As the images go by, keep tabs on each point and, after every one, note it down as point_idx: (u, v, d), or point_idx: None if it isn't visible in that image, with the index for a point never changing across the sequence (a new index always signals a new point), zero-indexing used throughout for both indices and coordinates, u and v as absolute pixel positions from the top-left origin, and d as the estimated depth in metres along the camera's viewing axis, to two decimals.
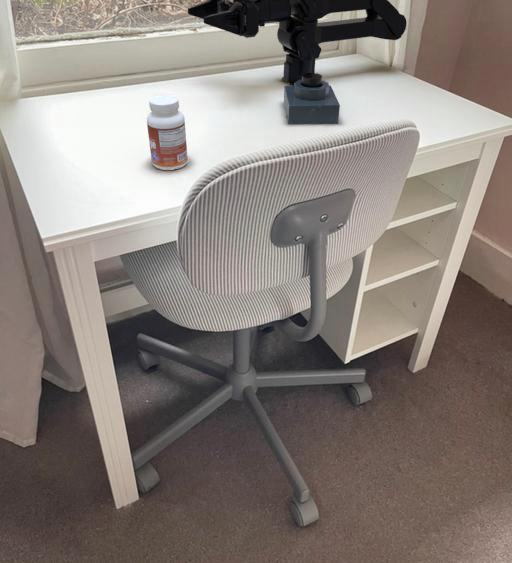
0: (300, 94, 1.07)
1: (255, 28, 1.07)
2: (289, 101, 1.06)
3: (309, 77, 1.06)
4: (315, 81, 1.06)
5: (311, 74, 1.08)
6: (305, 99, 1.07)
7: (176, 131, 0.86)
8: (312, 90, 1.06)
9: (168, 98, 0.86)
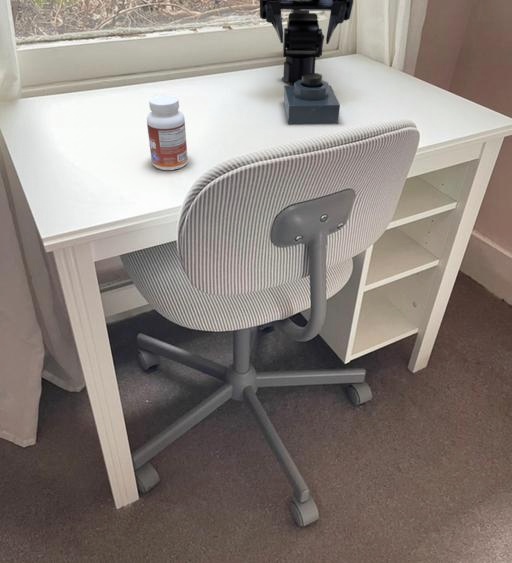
0: (300, 94, 1.07)
1: None
2: (289, 101, 1.06)
3: (309, 77, 1.06)
4: (315, 81, 1.06)
5: (311, 74, 1.08)
6: (305, 99, 1.07)
7: (176, 131, 0.86)
8: (312, 90, 1.06)
9: (168, 98, 0.86)
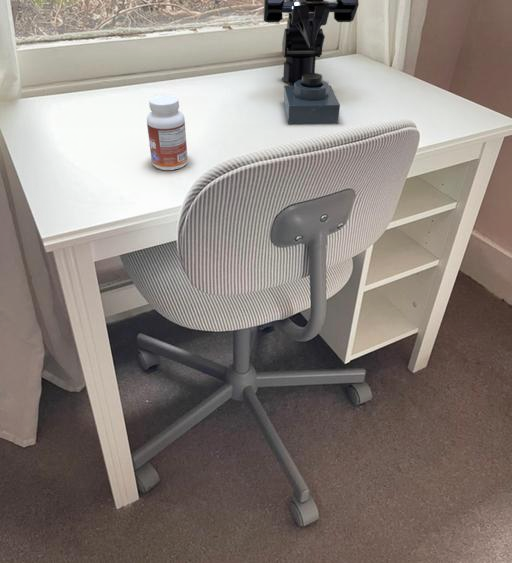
0: (300, 94, 1.07)
1: None
2: (289, 101, 1.06)
3: (309, 77, 1.06)
4: (315, 81, 1.06)
5: (311, 74, 1.08)
6: (305, 99, 1.07)
7: (176, 131, 0.86)
8: (312, 90, 1.06)
9: (168, 98, 0.86)
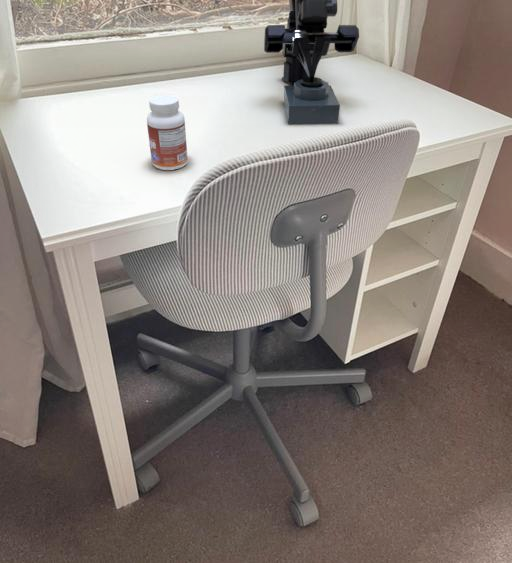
0: (300, 94, 1.07)
1: None
2: (289, 101, 1.06)
3: (309, 81, 1.07)
4: (315, 85, 1.06)
5: None
6: (305, 99, 1.07)
7: (176, 131, 0.86)
8: (312, 90, 1.06)
9: (168, 98, 0.86)
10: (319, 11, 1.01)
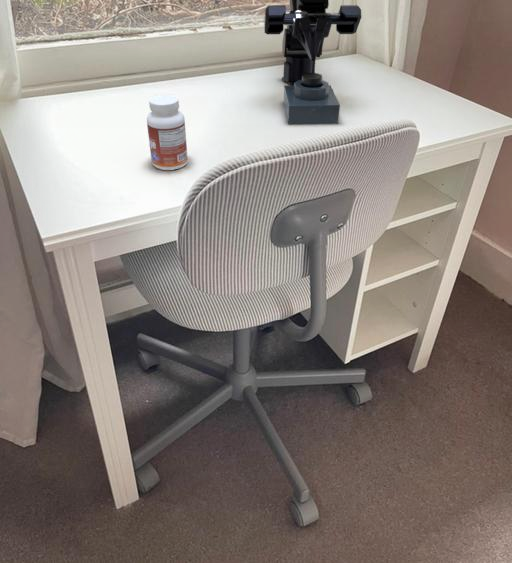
0: (300, 94, 1.07)
1: None
2: (289, 101, 1.06)
3: (309, 77, 1.06)
4: (315, 81, 1.06)
5: (311, 74, 1.08)
6: (305, 99, 1.07)
7: (176, 131, 0.86)
8: (312, 90, 1.06)
9: (168, 98, 0.86)
10: None
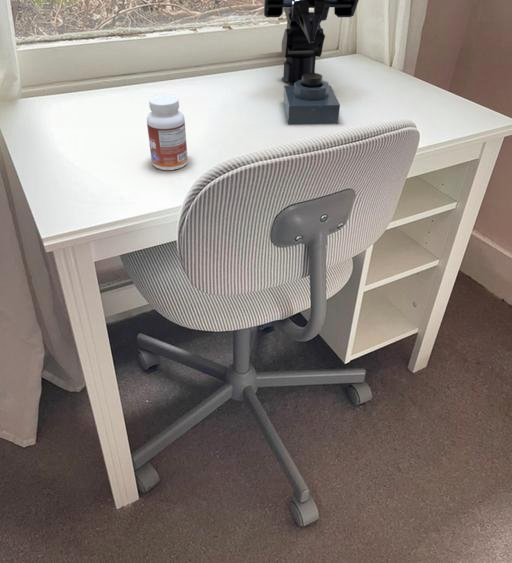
0: (300, 94, 1.07)
1: None
2: (289, 101, 1.06)
3: (309, 77, 1.06)
4: (315, 81, 1.06)
5: (311, 74, 1.08)
6: (305, 99, 1.07)
7: (176, 131, 0.86)
8: (312, 90, 1.06)
9: (168, 98, 0.86)
10: None
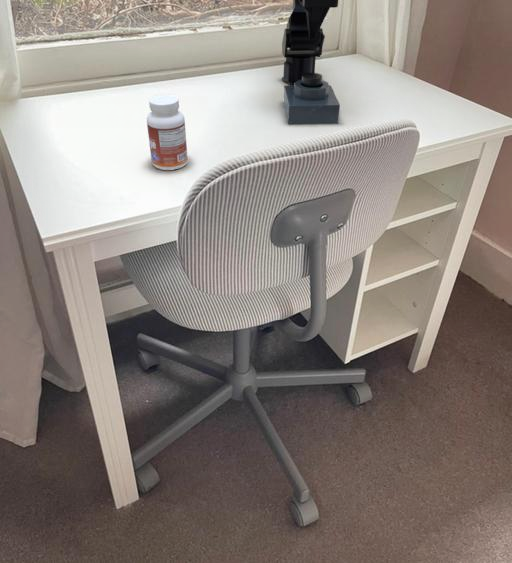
0: (300, 94, 1.07)
1: None
2: (289, 101, 1.06)
3: (309, 77, 1.06)
4: (315, 81, 1.06)
5: (311, 74, 1.08)
6: (305, 99, 1.07)
7: (176, 131, 0.86)
8: (312, 90, 1.06)
9: (168, 98, 0.86)
10: None
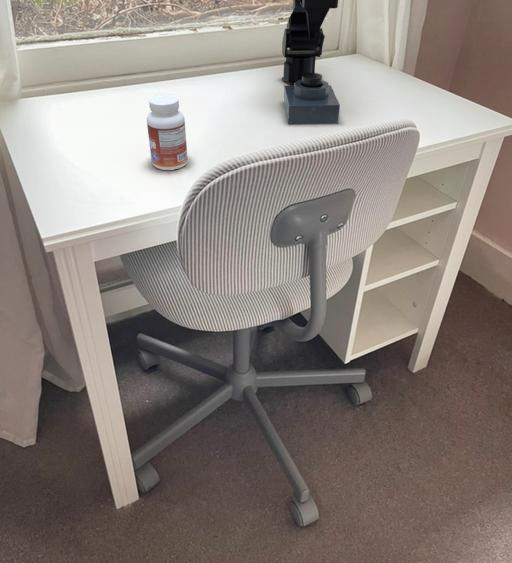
0: (300, 94, 1.07)
1: None
2: (289, 101, 1.06)
3: (309, 77, 1.06)
4: (315, 81, 1.06)
5: (311, 74, 1.08)
6: (305, 99, 1.07)
7: (176, 131, 0.86)
8: (312, 90, 1.06)
9: (168, 98, 0.86)
10: None
